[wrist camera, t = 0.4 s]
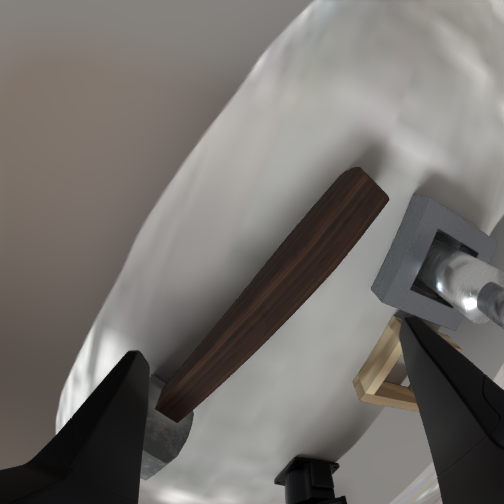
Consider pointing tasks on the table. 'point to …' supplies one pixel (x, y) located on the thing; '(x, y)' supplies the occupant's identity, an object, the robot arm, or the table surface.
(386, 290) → the socket
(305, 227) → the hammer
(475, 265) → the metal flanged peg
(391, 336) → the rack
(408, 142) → the table surface
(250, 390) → the table surface
